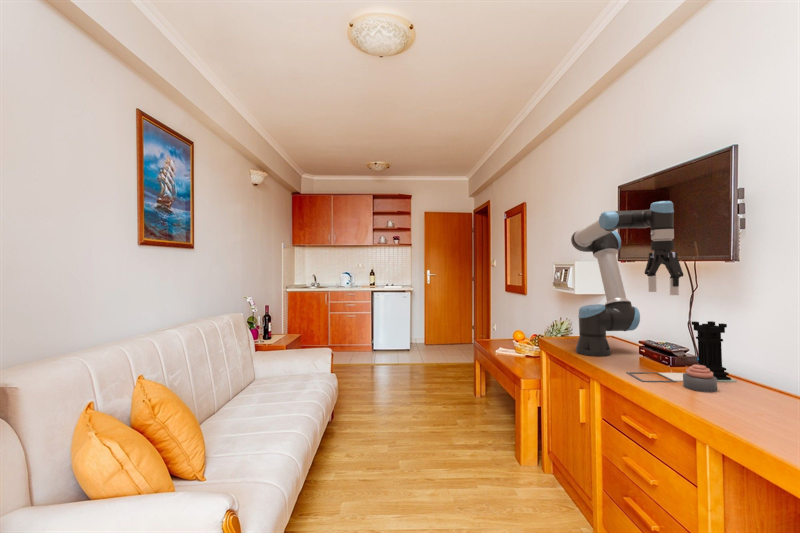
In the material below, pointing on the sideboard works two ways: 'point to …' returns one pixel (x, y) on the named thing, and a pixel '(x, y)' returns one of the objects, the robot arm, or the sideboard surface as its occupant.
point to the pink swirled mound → (699, 371)
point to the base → (700, 383)
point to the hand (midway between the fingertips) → (662, 293)
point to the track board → (670, 377)
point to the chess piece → (711, 348)
